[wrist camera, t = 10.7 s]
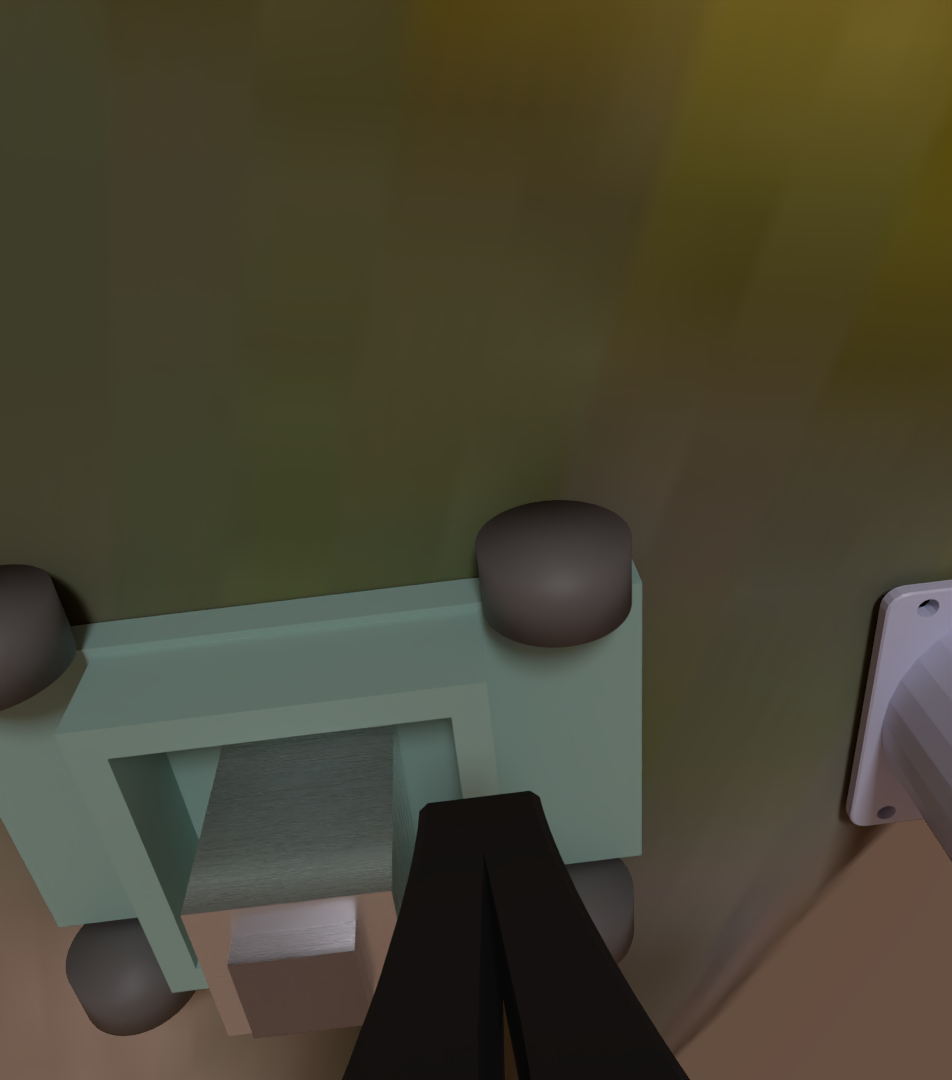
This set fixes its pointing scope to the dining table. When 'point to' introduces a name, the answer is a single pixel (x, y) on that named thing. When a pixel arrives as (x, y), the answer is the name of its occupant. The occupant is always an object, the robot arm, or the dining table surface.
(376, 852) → the block
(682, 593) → the dining table surface
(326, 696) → the chassis
